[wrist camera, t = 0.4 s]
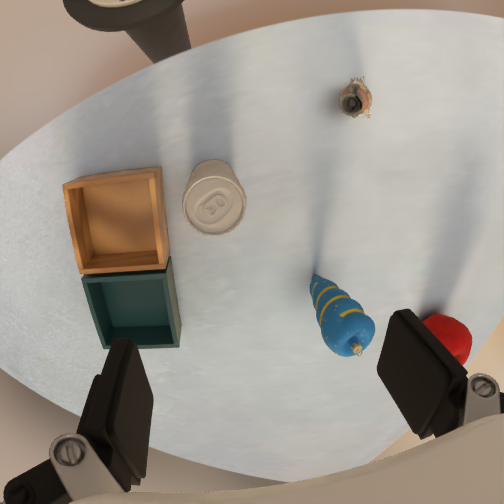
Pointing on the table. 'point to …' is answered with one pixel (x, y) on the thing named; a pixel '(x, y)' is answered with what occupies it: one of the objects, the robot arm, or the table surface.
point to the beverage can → (213, 199)
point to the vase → (351, 104)
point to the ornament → (340, 318)
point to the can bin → (135, 307)
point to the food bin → (118, 221)
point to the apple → (451, 335)
